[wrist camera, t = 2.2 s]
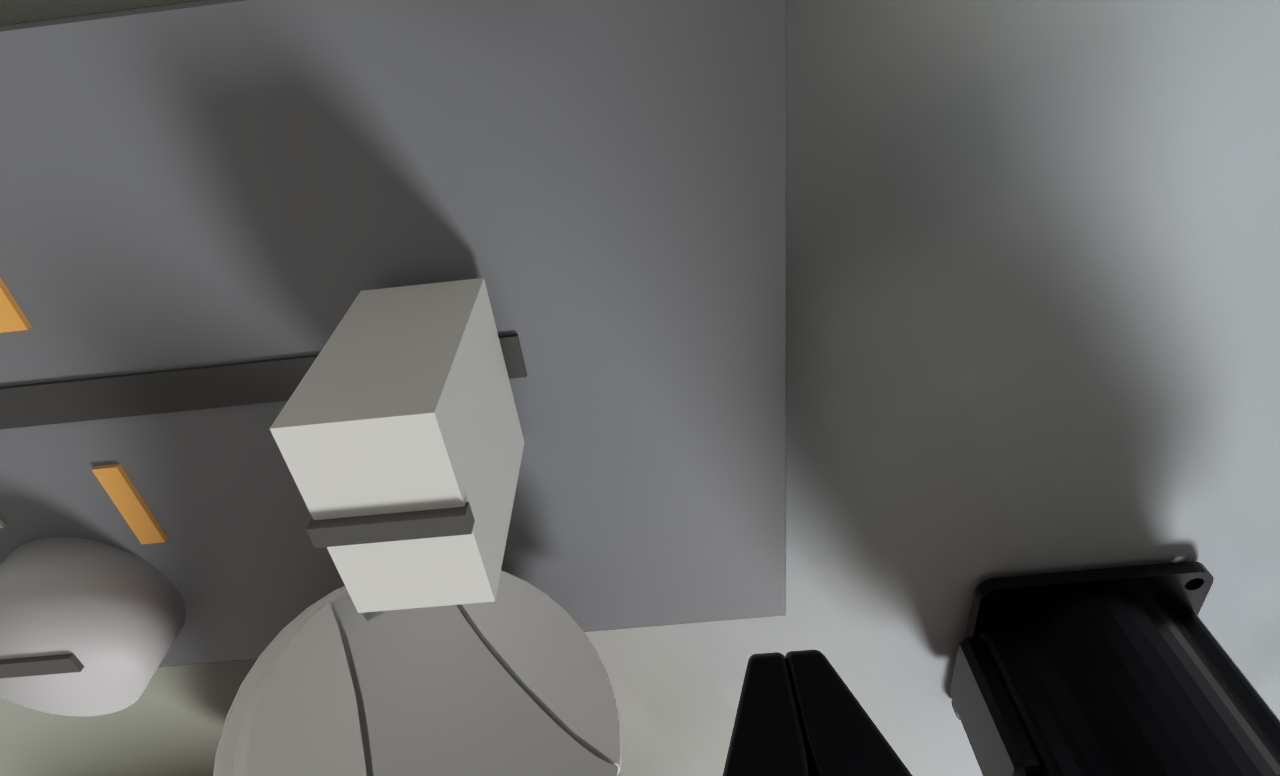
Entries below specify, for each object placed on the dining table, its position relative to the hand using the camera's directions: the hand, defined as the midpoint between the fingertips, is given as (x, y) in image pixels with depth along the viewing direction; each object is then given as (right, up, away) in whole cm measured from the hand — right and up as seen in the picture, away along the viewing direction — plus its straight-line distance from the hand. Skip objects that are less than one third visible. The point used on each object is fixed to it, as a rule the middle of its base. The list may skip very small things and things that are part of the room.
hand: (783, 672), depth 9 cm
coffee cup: (-11, -13, +16) cm, 23 cm away
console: (-10, +4, +9) cm, 13 cm away
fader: (-6, +4, +6) cm, 9 cm away
